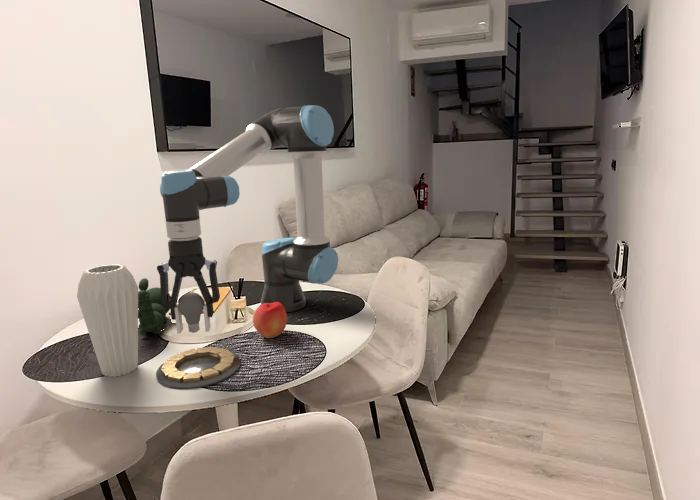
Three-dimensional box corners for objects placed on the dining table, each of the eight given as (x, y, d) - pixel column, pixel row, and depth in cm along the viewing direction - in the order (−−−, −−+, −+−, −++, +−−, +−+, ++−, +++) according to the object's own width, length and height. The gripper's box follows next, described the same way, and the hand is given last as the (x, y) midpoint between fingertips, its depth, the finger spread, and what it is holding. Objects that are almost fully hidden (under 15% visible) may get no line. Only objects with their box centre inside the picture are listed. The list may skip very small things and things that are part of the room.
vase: (87, 387, 111) (69, 279, 105) (92, 364, 123) (76, 266, 117) (149, 375, 116) (134, 271, 110) (148, 353, 128) (135, 259, 122)
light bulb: (199, 337, 113) (195, 297, 111) (176, 336, 114) (172, 296, 112) (211, 327, 118) (207, 289, 116) (189, 326, 120) (185, 288, 117)
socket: (168, 354, 127) (167, 348, 127) (243, 348, 129) (243, 342, 129) (145, 392, 108) (144, 385, 108) (235, 384, 110) (234, 377, 110)
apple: (287, 328, 142) (285, 296, 140) (288, 341, 133) (286, 307, 131) (254, 331, 141) (251, 299, 138) (253, 344, 132) (250, 310, 129)
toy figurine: (166, 345, 137) (177, 309, 160) (157, 284, 131) (169, 256, 155) (132, 349, 135) (147, 312, 158) (121, 287, 129) (138, 258, 153)
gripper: (137, 242, 107) (149, 339, 112) (223, 238, 109) (231, 333, 114) (147, 236, 114) (158, 327, 119) (228, 233, 116) (235, 322, 121)
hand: (194, 330), depth 116 cm, fingers closed on light bulb, 6 cm apart
